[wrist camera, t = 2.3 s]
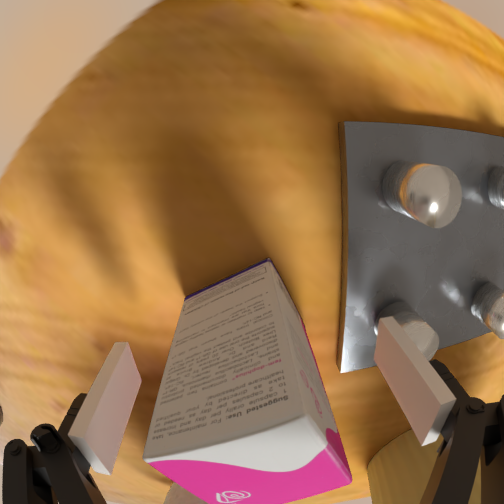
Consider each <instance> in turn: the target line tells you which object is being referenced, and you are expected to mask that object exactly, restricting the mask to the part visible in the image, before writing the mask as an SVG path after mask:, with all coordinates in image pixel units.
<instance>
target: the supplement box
mask: <svg viewBox="0 0 504 504" xmlns="http://www.w3.org/2000/svg"><path fill="white" fill-rule="evenodd" d="M142 457H143V460H144V461H146V462H147V463H148V464H150V465H151V466H152V467H154V468H155V469H157V470H158V471H159V472H161V473H162V474H164V475H165V476H166V477H168V478H169V479H171V480H172V481H174V482H175V483H177V484H178V485H180V486H181V487H183V488H184V489H186V490H187V491H189V492H191V493H192V494H194V495H195V496H197V497H199V498H200V499H202V500H204V501H205V502H207V503H209V504H283V503H288V502H291V501H295V500H299V499H303V498H307V497H310V496H314V495H317V494H320V493H324V492H327V491H330V490H334V489H337V488H340V487H343V486H346V485H348V484H350V483H351V482H352V475H351V472H350V468H349V465H348V462H347V458H346V455H345V452H344V448H343V445H342V442H341V438H340V435H339V432H338V429H337V426H336V422H335V419H334V416H333V413H332V410H331V407H330V404H329V401H328V398H327V394H326V391H325V388H324V385H323V382H322V379H321V376H320V373H319V370H318V366H317V363H316V360H315V357H314V354H313V351H312V348H311V345H310V342H309V339H308V336H307V333H306V329H305V326H304V324H303V322H302V319H301V317H300V315H299V313H298V311H297V309H296V307H295V305H294V303H293V301H292V299H291V297H290V295H289V293H288V291H287V289H286V287H285V285H284V283H283V281H282V279H281V277H280V276H279V274H278V272H277V270H276V268H275V266H274V265H273V263H272V261H271V259H270V258H267V259H265V260H262V261H260V262H258V263H256V264H254V265H252V266H250V267H248V268H246V269H244V270H242V271H240V272H238V273H236V274H234V275H231V276H229V277H227V278H225V279H223V280H221V281H219V282H216V283H214V284H212V285H210V286H207V287H205V288H203V289H201V290H199V291H197V292H195V293H193V294H191V295H188V296H187V297H186V298H185V300H184V304H183V307H182V310H181V313H180V317H179V320H178V324H177V327H176V330H175V334H174V338H173V341H172V345H171V348H170V351H169V355H168V359H167V363H166V366H165V370H164V373H163V377H162V380H161V384H160V388H159V392H158V396H157V400H156V403H155V407H154V411H153V416H152V419H151V424H150V427H149V432H148V436H147V441H146V444H145V448H144V453H143V456H142Z"/></svg>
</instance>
